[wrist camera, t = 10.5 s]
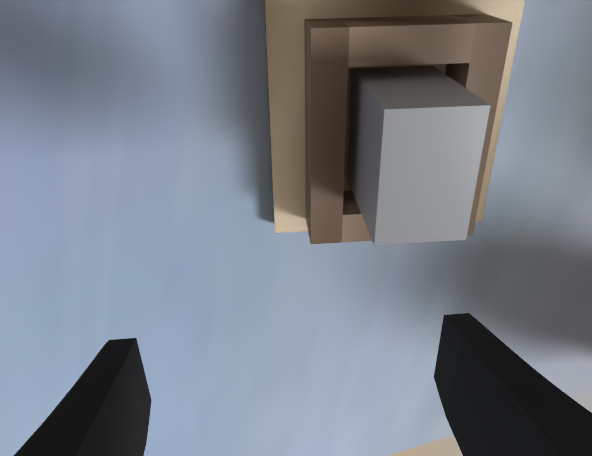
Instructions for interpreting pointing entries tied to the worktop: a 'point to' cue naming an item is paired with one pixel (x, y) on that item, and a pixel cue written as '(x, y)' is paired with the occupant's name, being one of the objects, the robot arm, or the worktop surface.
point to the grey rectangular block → (414, 153)
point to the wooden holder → (337, 91)
